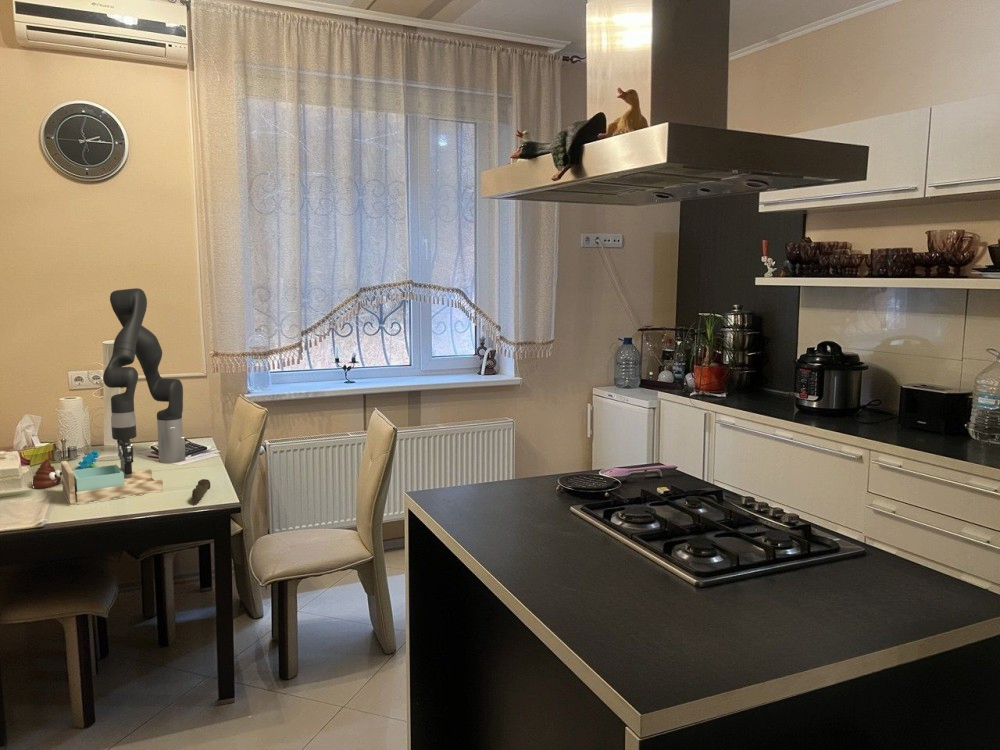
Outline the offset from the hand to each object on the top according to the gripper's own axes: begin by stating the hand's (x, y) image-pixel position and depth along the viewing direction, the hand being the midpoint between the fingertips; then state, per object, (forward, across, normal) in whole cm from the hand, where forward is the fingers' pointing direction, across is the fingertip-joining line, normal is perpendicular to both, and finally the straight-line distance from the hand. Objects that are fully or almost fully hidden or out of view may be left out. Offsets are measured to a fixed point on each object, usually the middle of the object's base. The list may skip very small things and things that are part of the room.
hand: (126, 471), depth 259 cm
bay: (+7, 0, +4) cm, 8 cm away
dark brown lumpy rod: (+7, -22, -19) cm, 30 cm away
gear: (+7, +34, +7) cm, 35 cm away
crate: (+5, 0, +7) cm, 9 cm away
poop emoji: (+7, +22, +22) cm, 32 cm away
